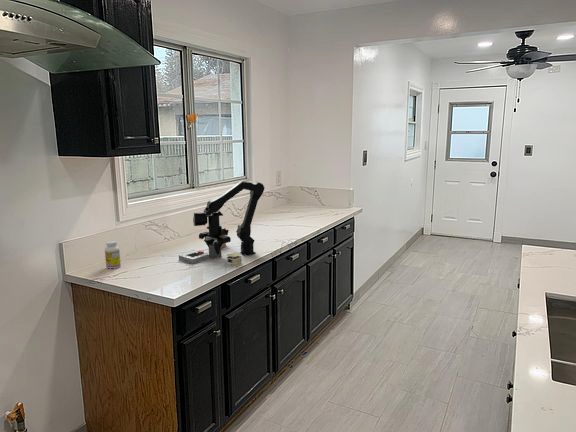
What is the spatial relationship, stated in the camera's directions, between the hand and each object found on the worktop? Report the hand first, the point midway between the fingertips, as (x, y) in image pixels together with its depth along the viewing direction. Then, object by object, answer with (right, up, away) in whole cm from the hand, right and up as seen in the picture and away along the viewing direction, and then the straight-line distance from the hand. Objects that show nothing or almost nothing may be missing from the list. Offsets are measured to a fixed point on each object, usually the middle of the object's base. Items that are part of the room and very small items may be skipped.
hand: (215, 253), depth 230 cm
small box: (-2, +2, +20) cm, 21 cm away
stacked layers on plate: (+12, -5, -12) cm, 18 cm away
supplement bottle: (-47, -6, -15) cm, 50 cm away
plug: (0, -2, 0) cm, 2 cm away
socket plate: (-10, -3, -4) cm, 11 cm away
